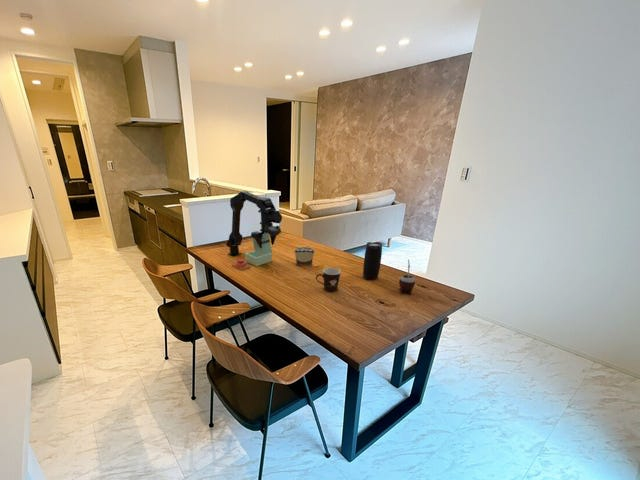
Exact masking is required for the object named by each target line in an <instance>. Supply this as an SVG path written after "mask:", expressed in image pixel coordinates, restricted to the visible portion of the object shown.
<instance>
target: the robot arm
mask: <svg viewBox="0 0 640 480" xmlns="http://www.w3.org/2000/svg"><path fill="white" fill-rule="evenodd" d="M246 201H248V202H250V203H252V204H254V205H256V207H257V208H258V210H257V212H258V213H260V222H259V225H260V229H259V231H258V230H255V231H252V232H250V237H251V238H255V240H256V241H257V243H258V245H259V247H260V248H262V239H263V238H262V235H265V234H269V238H270V244H271V246H274V244H275V241H276V238H277V237H278V236H279V235H280V233H282V229H281V227H280V225H274V224H280V223H281V222H282V220H283V215H282V214H281V213H280V210H277V209H276V207H275V205H274V203H273V201H272V199H271V198H270V197H263V196H262V197H261V196H258V195H257V194H253V193H251V192H249V191H247V190H241V191H240V192H238V193H237V194H236V195H234V196H232V197H231V198H230V200H229V206H230V208H231V210H232V219H231V220H232V221H231V222H232V223H231V232H230V234H229V235H228V240H227V241H226V244H225V245H226V247H228V248H229V252H228V253H227V254H228V255H229V256H231V257H236V256H240V255H241V254H242V253H240V247H239V246H241V245H242V242H243V234H241V232H240V231H241V229H240V228H241V212H242V210H243V208H244V206H245V205H244V204H245V202H246ZM273 223H274V224H273Z"/></svg>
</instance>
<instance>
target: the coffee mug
mask: <svg viewBox="0 0 640 480" xmlns="http://www.w3.org/2000/svg"><path fill="white" fill-rule="evenodd" d="M341 271H342V270H340V269H339V268H335V267H327V268H324V269H323V270H322V273H319V274H317V275H316V276H315V280H316V282H318V283H319V284H321V285H323V289H324V291H326V292H327V293H335V292H337V291H338V287H339V282H340V278H341ZM319 276H320V277H322V278H323V282H321V281H320V280H318V277H319Z"/></svg>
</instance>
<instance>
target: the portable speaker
mask: <svg viewBox="0 0 640 480" xmlns="http://www.w3.org/2000/svg"><path fill="white" fill-rule="evenodd" d="M382 255H383V243H382V242H378V241H377V242H376V241H375V242H371V241H368V242H366V247H365V251H364V258H363V267H362V268H363V269H362V278H363V279H364V280H367V279H371V280H373V281H376V280H378V279H379V278H378V277H379V273H380V269H381V263H382Z"/></svg>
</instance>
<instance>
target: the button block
mask: <svg viewBox="0 0 640 480" xmlns="http://www.w3.org/2000/svg"><path fill="white" fill-rule="evenodd" d="M232 267H234V268H236V269H238V270H240V271H244V270H248V269H251V268H250V267H251V266H250V265H248V264H247V262H246V260H244V263H241V264H239V263H238V260H237V261H235V262H234V263H232Z"/></svg>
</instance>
